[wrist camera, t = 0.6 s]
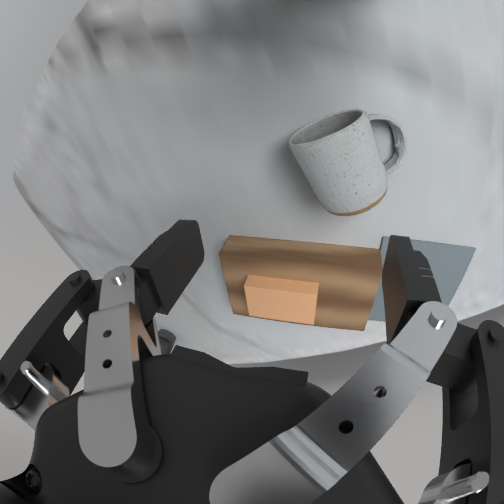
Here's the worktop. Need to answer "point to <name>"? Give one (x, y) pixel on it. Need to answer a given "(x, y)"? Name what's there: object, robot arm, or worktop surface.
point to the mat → (442, 265)
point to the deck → (307, 275)
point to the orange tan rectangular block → (281, 299)
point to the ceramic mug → (346, 160)
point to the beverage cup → (166, 341)
